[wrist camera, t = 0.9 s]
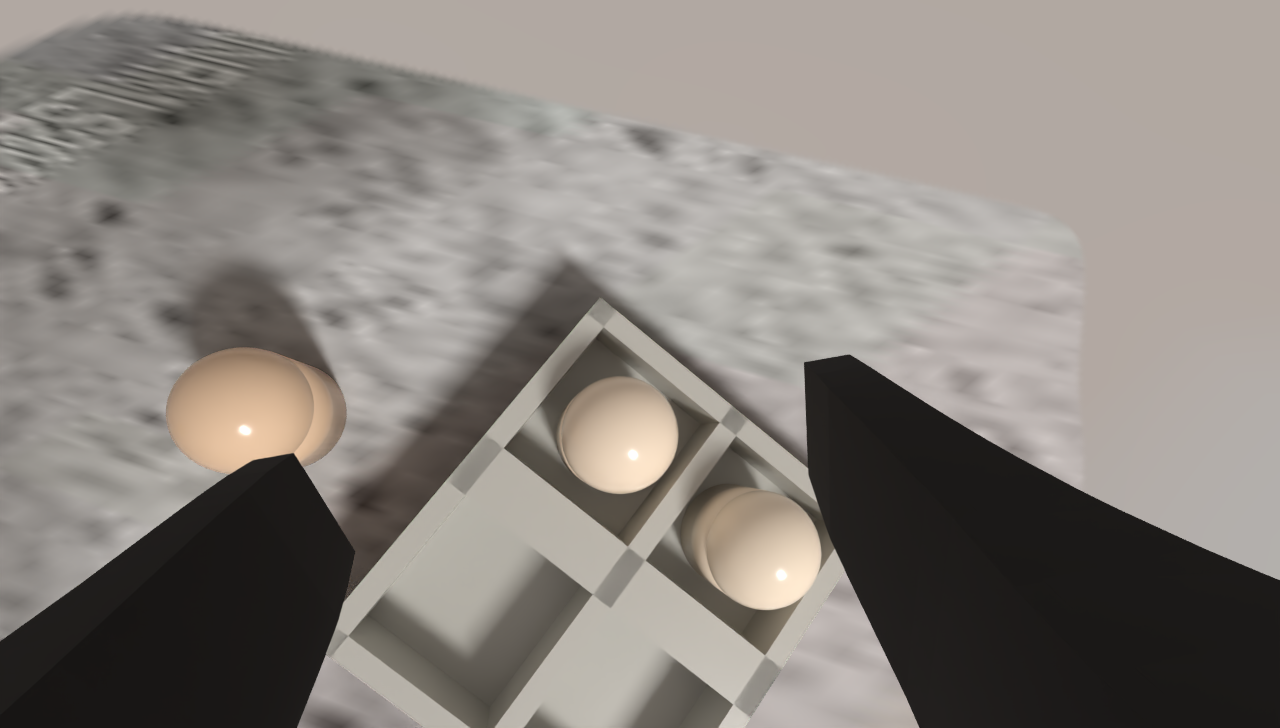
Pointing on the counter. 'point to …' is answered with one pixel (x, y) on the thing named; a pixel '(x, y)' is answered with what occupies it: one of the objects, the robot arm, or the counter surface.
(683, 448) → the carton
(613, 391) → the pale egg
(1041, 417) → the counter surface
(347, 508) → the counter surface
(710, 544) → the pale egg
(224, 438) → the egg
